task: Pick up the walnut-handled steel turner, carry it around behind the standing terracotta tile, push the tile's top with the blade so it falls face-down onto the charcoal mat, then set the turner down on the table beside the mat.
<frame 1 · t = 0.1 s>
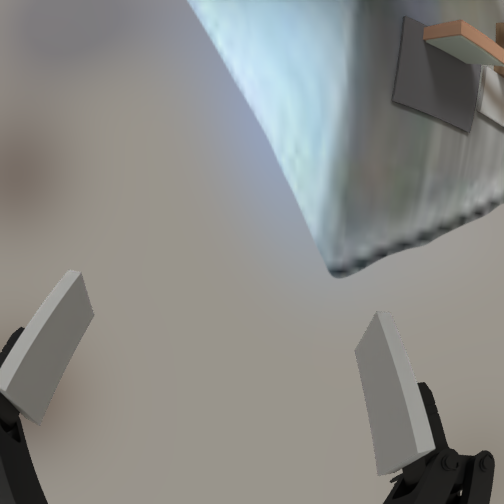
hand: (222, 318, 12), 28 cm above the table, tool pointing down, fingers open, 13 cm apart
turner: (499, 76, 24), on the table
tile: (446, 45, 23), point 1 cm above the table, touching mat
mat: (440, 75, 26), on the table
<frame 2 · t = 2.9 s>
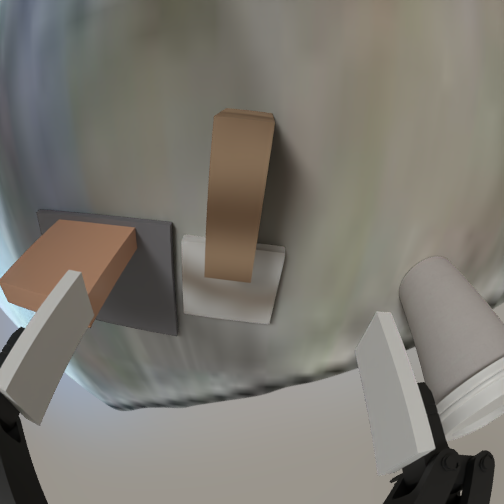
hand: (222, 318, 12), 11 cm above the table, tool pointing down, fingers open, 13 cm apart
coffee cup: (426, 282, 24), on the table
turner: (234, 240, 23), on the table
tile: (95, 233, 22), point 1 cm above the table, touching mat
mat: (107, 274, 25), on the table
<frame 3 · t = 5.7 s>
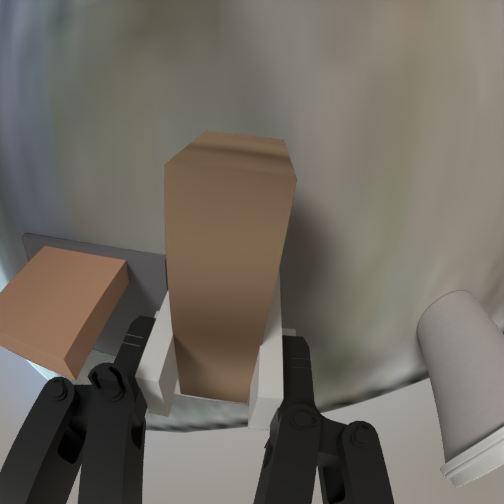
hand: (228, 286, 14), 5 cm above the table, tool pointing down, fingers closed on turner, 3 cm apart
coffee cup: (446, 316, 21), on the table
turner: (225, 321, 16), point 4 cm above the table, touching gripper
tile: (83, 263, 19), point 1 cm above the table, touching mat
mat: (99, 305, 22), on the table
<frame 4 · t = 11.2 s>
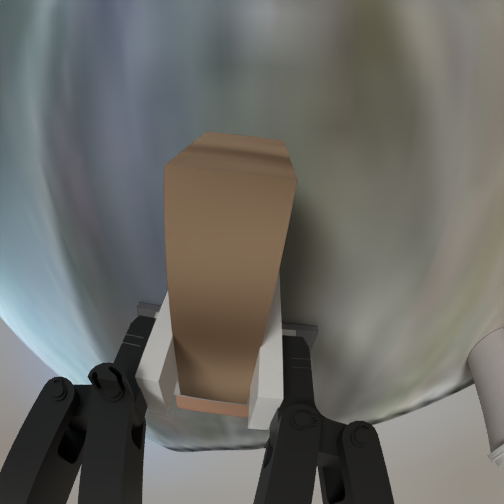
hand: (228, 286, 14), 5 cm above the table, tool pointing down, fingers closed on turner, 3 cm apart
coffee cup: (487, 345, 24), on the table
turner: (225, 322, 16), point 4 cm above the table, touching gripper
tile: (222, 357, 21), point 2 cm above the table, tilted 90°, touching mat
mat: (222, 364, 25), on the table
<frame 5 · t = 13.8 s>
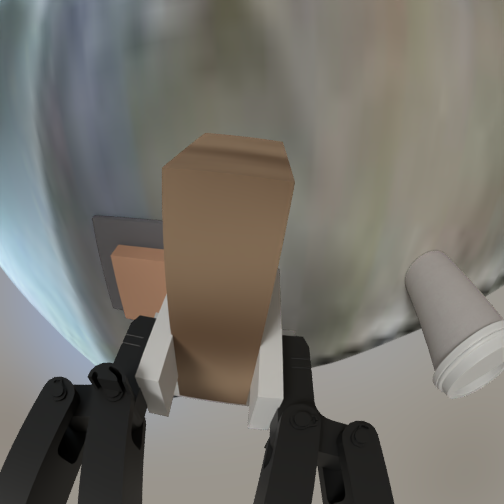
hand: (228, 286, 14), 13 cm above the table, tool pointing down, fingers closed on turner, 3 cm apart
coffee cup: (427, 272, 30), on the table
turner: (224, 323, 16), point 13 cm above the table, touching gripper
tile: (150, 253, 27), point 2 cm above the table, tilted 90°, touching mat
mat: (158, 272, 31), on the table
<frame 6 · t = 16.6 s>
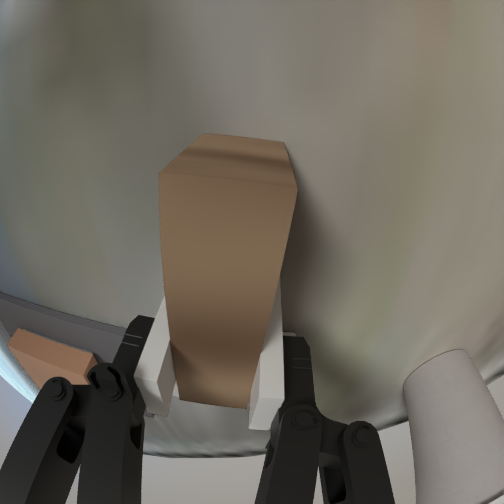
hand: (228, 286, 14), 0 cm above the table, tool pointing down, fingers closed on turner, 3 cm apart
coffee cup: (436, 371, 19), on the table
turner: (224, 325, 16), on the table, touching gripper
tile: (45, 350, 16), point 2 cm above the table, tilted 90°, touching mat
mat: (71, 360, 20), on the table
when the fingers open (0 cm above the table, at t = 17.0 s): turner stays where it is, on the table.
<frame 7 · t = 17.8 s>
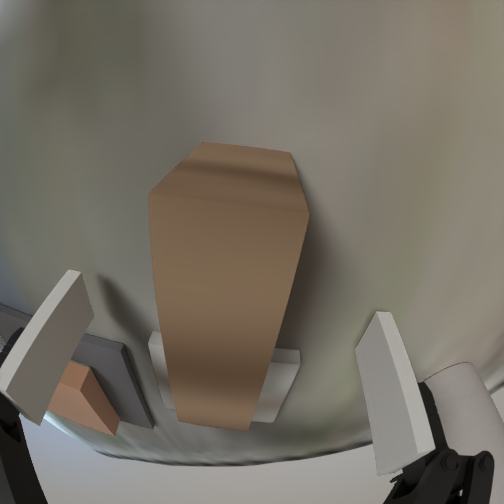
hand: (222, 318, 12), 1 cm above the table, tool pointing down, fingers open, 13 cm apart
coffee cup: (441, 384, 18), on the table
turner: (225, 342, 15), on the table
tile: (41, 362, 15), point 2 cm above the table, tilted 90°, touching mat
mat: (68, 371, 19), on the table
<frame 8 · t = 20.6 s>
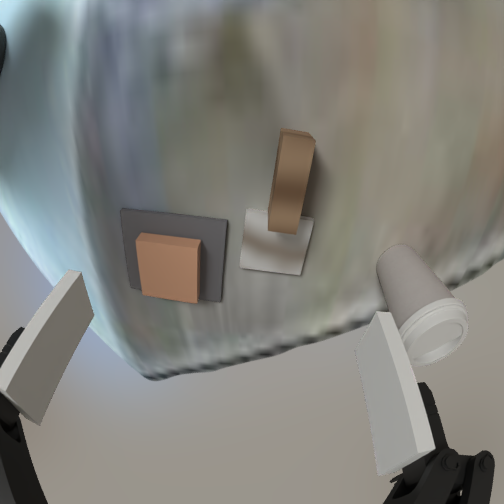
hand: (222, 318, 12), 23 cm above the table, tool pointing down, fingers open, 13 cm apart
coffee cup: (396, 263, 37), on the table
turner: (280, 212, 34), on the table
tile: (167, 240, 34), point 2 cm above the table, tilted 90°, touching mat
mat: (172, 256, 38), on the table
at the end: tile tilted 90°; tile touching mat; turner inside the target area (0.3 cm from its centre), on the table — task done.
